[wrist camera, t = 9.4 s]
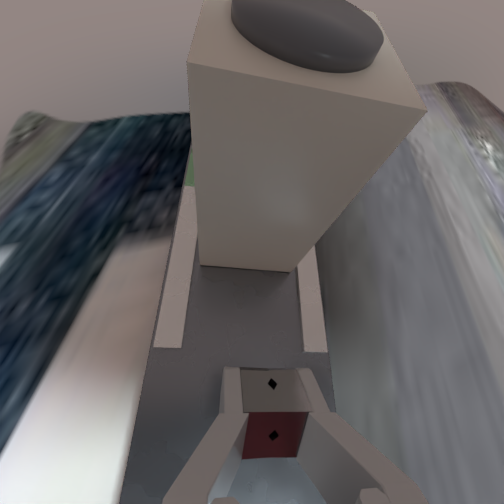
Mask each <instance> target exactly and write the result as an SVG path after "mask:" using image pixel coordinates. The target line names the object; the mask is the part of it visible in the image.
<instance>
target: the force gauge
mask: <svg viewBox="0 0 504 504" xmlns="http://www.w3.org/2000/svg"><path fill="white" fill-rule="evenodd" d="M187 74H188V90H189V105H190V121H191V136H192V152H193V167H194V183H195V198H196V214H197V230H198V245H199V261H200V265H207V266H219V267H232V268H244V269H257V270H269V271H281V272H292V271H293V270H294V268H295V267H296V266H297V265H298V264H299V263H300V261H301V260H302V259H303V258H304V257H305V255H306V254H307V253H308V252H309V251H310V249H311V248H312V247H313V246H314V245H315V244H316V242H317V241H318V240H319V239H320V238H321V236H322V235H323V234H324V233H325V232H326V231H327V229H328V228H329V227H330V226H331V225H332V223H333V222H334V221H335V220H336V219H337V218H338V216H339V215H340V214H341V213H342V212H343V210H344V209H345V208H346V207H347V206H348V205H349V203H350V202H351V201H352V200H353V199H354V197H355V196H356V195H357V194H358V193H359V192H360V190H361V189H362V188H363V187H364V186H365V184H366V183H367V182H368V181H369V180H370V179H371V177H372V176H373V175H374V174H375V173H376V171H377V170H378V169H379V168H380V167H381V165H382V164H383V163H384V162H385V161H386V160H387V158H388V157H389V156H390V155H391V154H392V152H393V151H394V150H395V149H396V148H397V147H398V145H399V144H400V143H401V142H402V141H403V139H404V138H405V137H406V136H407V135H408V134H409V132H410V131H411V130H412V129H413V128H414V126H415V125H416V124H417V123H418V122H419V121H420V119H421V118H422V117H423V116H424V115H425V113H426V112H427V111H428V110H427V108H426V106H425V104H424V103H423V101H422V99H421V97H420V95H419V93H418V92H417V90H416V88H415V86H414V84H413V82H412V81H411V79H410V77H409V75H408V73H407V72H406V70H405V68H404V66H403V64H402V62H401V61H400V59H399V57H398V55H397V53H396V51H395V49H394V48H393V46H392V44H391V42H390V40H389V38H388V37H387V35H386V33H385V31H384V29H383V28H382V26H381V24H380V22H379V20H378V19H377V16H376V15H375V13H374V12H370V11H366V10H362V9H359V8H357V7H356V6H354V5H352V4H351V3H349V2H347V1H345V0H204V2H203V5H202V9H201V12H200V16H199V19H198V23H197V26H196V30H195V34H194V38H193V41H192V45H191V48H190V52H189V55H188V59H187Z"/></svg>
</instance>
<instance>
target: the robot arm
mask: <svg viewBox="0 0 504 504" xmlns="http://www.w3.org/2000/svg"><path fill="white" fill-rule="evenodd" d="M293 457H297V458H296V460H297V461H298V462H299V464H300V465H301V467H302V468H303V470H304V471H305V473H306V474H307V475H308V477H309V478H310V480H311V481H312V483H313V484H314V485H315V487H316V488H317V490H318V491H319V493H320V494H321V495H322V497H323V498H324V500H325V501H326V503H327V504H429V503H428V502H427V500H426V498H425V497H424V495H423V494H422V492H421V490H420V489H419V487H418V486H417V484H416V483H415V482H414V481H413V480H411V479H410V478H409V477H408V476H407V475H406V474H405V473H403V472H402V471H401V470H400V469H399V468H398V467H397V466H395V465H394V464H393V463H392V462H391V461H390V460H389V459H388V458H386V457H385V456H384V455H383V454H382V453H381V452H380V451H378V450H377V449H376V448H375V447H374V446H373V445H372V444H370V443H369V442H368V441H367V440H366V439H365V438H364V437H363V436H361V435H360V434H359V433H358V432H357V431H356V430H355V429H353V428H352V427H351V426H350V425H349V424H348V423H347V422H346V421H344V420H343V419H342V418H341V417H340V416H339V415H338V414H336V413H335V412H330V410H329V408H328V405H327V403H326V401H325V399H324V397H323V395H322V392H321V390H320V388H319V386H318V384H317V381H316V379H315V377H314V375H313V373H312V371H311V370H310V369H309V368H295V369H294V368H250V367H224V369H223V377H222V385H221V394H220V406H219V414H218V416H217V417H216V419H215V420H214V422H213V423H212V425H211V426H210V428H209V430H208V431H207V433H206V434H205V436H204V437H203V439H202V440H201V442H200V443H199V445H198V446H197V448H196V449H195V451H194V452H193V454H192V455H191V457H190V458H189V460H188V462H187V463H186V465H185V466H184V468H183V469H182V471H181V472H180V474H179V475H178V477H177V478H176V480H175V481H174V483H173V484H172V486H171V487H170V489H169V490H168V492H167V493H166V495H165V497H164V498H163V502H162V504H240V503H239V502H238V501H237V500H236V499H235V498H234V497H227V494H228V492H229V490H230V487H231V485H232V482H233V480H234V478H235V475H236V473H237V470H238V468H239V466H240V463H241V460H243V459H256V458H293Z"/></svg>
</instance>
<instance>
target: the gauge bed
mask: <svg viewBox="0 0 504 504" xmlns="http://www.w3.org/2000/svg"><path fill="white" fill-rule="evenodd" d="M224 367H250V368H294V369H295V368H309V369H310V370H311V371H312V373H313V375H314V377H315V379H316V381H317V384H318V386H319V388H320V390H321V392H322V395H323V397H324V399H325V401H326V403H327V405H328V408H329V410H330V412H335V413H336V407H335V399H334V391H333V383H332V375H331V367H330V359H329V351H328V343H327V335H326V328H325V320H324V312H323V304H322V296H321V288H320V280H319V272H318V264H317V256H316V248H315V245H314V246H313V247H312V248H311V249H310V251H309V252H308V253H307V254H306V255H305V257H304V258H303V259H302V260H301V261H300V263H299V264H298V265H297V266H296V267H295V268H294V270H293V271H292V272H281V271H269V270H257V269H244V268H232V267H219V266H207V265H200V261H199V245H198V230H197V214H196V198H195V183H194V167H193V152H192V140H191V145H190V150H189V155H188V160H187V165H186V170H185V175H184V180H183V185H182V190H181V195H180V200H179V206H178V211H177V216H176V221H175V226H174V231H173V236H172V241H171V246H170V251H169V256H168V261H167V266H166V271H165V276H164V281H163V286H162V291H161V296H160V301H159V306H158V311H157V316H156V321H155V326H154V331H153V336H152V341H151V346H150V351H149V356H148V361H147V367H146V372H145V377H144V382H143V387H142V392H141V397H140V402H139V407H138V412H137V417H136V422H135V427H134V432H133V437H132V442H131V447H130V452H129V457H128V462H127V467H126V472H125V477H124V482H123V487H122V492H121V497H120V502H119V504H162V502H163V498H164V497H165V495H166V493H167V492H168V490H169V489H170V487H171V486H172V484H173V483H174V481H175V480H176V478H177V477H178V475H179V474H180V472H181V471H182V469H183V468H184V466H185V465H186V463H187V462H188V460H189V458H190V457H191V455H192V454H193V452H194V451H195V449H196V448H197V446H198V445H199V443H200V442H201V440H202V439H203V437H204V436H205V434H206V433H207V431H208V430H209V428H210V426H211V425H212V423H213V422H214V420H215V419H216V417H217V416H218V414H219V406H220V394H221V385H222V377H223V369H224ZM296 458H297V457H293V458H256V459H243V460H241V463H240V466H239V468H238V470H237V473H236V475H235V478H234V480H233V482H232V485H231V487H230V490H229V492H228V494H227V497H234V498H235V499H236V500H237V501H238V502H239V503H240V504H327V503H326V501H325V500H324V498H323V497H322V495H321V494H320V493H319V491H318V490H317V488H316V487H315V485H314V484H313V483H312V481H311V480H310V478H309V477H308V475H307V474H306V473H305V471H304V470H303V468H302V467H301V465H300V464H299V462H298V461H297V460H296Z"/></svg>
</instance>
